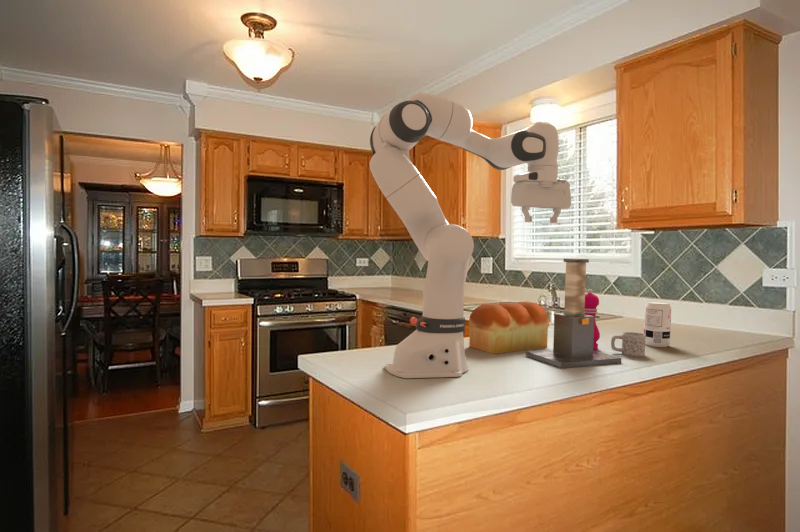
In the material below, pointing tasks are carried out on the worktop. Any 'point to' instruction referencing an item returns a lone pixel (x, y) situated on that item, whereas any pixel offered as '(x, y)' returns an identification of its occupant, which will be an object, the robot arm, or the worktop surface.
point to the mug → (630, 344)
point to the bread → (508, 327)
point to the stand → (573, 344)
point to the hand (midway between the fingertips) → (541, 222)
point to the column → (575, 286)
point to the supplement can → (657, 324)
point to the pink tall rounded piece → (592, 313)
